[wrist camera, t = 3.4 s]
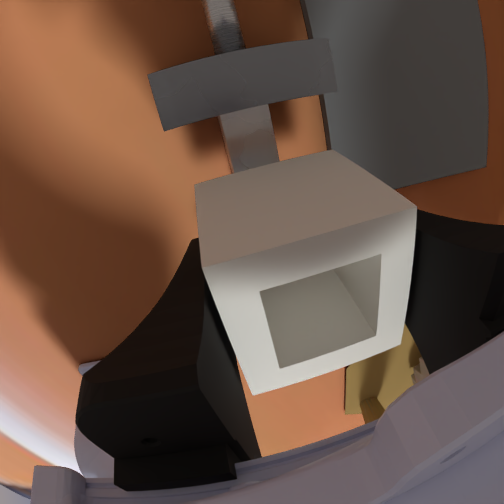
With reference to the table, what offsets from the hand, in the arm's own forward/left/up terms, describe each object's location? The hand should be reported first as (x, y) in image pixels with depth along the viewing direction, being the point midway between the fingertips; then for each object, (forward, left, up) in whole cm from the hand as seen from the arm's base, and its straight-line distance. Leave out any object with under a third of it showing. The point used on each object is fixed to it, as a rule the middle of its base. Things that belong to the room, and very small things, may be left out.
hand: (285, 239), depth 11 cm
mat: (+10, +4, -6) cm, 12 cm away
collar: (0, 0, -1) cm, 1 cm away
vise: (0, +2, -6) cm, 6 cm away
